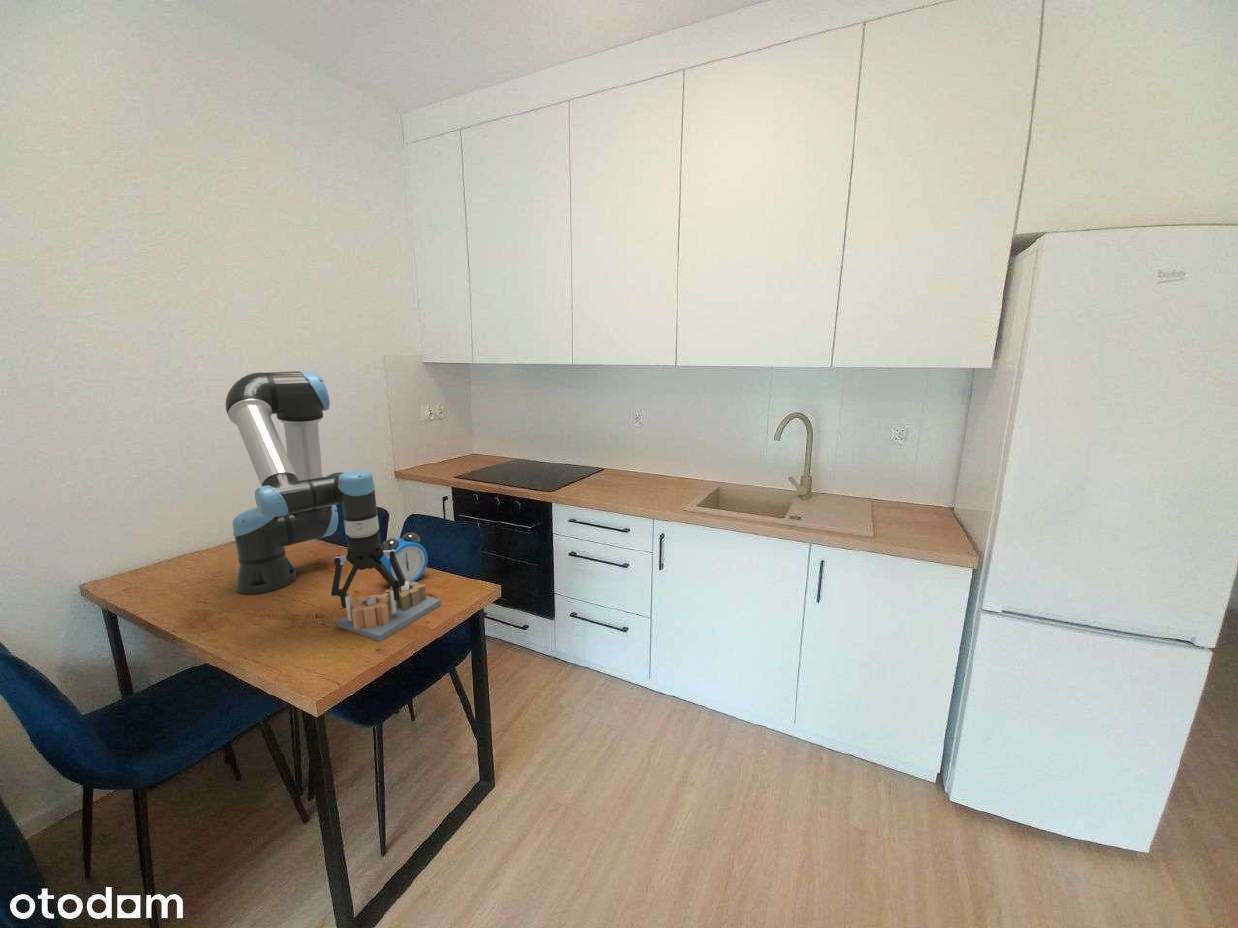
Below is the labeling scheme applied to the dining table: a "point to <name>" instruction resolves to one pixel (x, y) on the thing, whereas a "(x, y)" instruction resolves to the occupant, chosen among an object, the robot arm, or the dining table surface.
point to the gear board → (397, 611)
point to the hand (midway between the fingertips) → (373, 614)
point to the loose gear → (371, 611)
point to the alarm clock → (407, 556)
